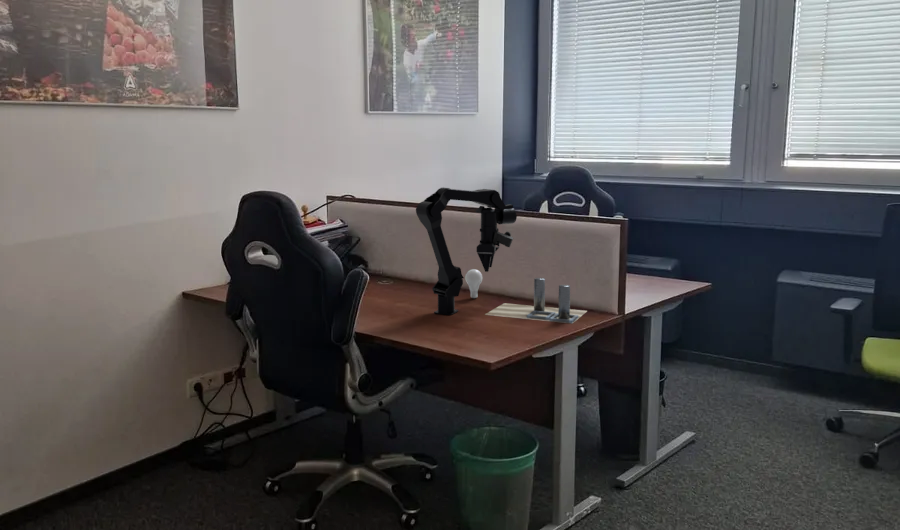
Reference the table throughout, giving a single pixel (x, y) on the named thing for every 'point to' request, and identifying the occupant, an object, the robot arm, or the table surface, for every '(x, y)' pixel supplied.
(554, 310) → the board
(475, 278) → the lightbulb
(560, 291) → the fixed pin
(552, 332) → the table surface
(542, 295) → the pin
